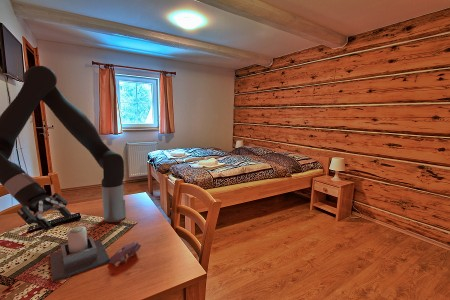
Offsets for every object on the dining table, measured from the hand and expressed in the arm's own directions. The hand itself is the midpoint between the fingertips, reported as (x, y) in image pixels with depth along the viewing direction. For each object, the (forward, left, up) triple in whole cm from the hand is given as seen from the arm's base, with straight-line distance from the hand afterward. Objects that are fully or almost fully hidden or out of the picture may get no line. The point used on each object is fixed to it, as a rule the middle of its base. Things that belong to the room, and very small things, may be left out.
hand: (59, 222), depth 78 cm
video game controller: (-17, +14, -14) cm, 26 cm away
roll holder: (-4, +4, -13) cm, 15 cm away
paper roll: (-4, +4, -12) cm, 14 cm away
